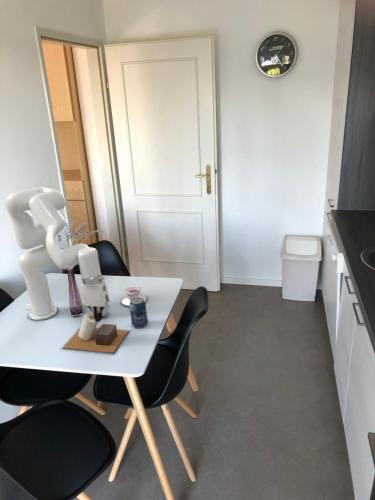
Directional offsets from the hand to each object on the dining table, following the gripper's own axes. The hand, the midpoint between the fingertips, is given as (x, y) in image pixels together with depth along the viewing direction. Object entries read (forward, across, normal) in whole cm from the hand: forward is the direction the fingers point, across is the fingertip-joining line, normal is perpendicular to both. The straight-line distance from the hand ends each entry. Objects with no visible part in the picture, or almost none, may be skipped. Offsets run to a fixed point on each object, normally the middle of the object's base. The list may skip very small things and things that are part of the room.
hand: (98, 320), depth 170 cm
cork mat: (+10, +3, 0) cm, 10 cm away
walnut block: (+10, -2, 0) cm, 10 cm away
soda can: (+10, -11, -14) cm, 21 cm away
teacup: (+10, 0, -35) cm, 37 cm away
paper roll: (+3, +5, 0) cm, 6 cm away
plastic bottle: (+10, +10, -19) cm, 24 cm away
